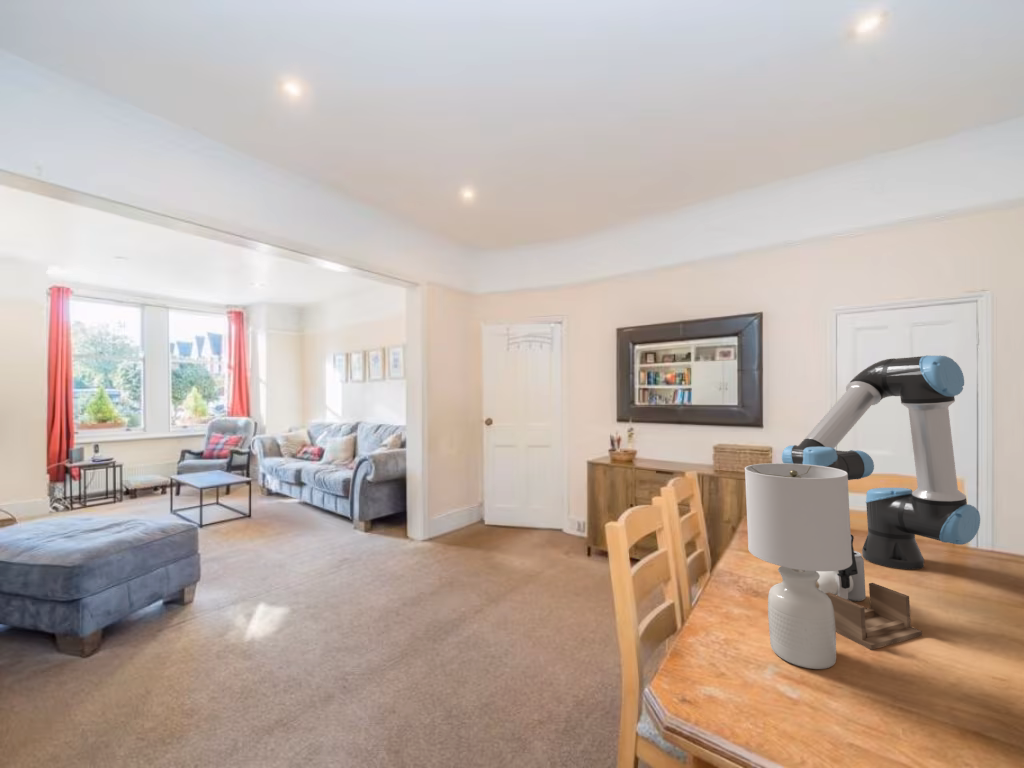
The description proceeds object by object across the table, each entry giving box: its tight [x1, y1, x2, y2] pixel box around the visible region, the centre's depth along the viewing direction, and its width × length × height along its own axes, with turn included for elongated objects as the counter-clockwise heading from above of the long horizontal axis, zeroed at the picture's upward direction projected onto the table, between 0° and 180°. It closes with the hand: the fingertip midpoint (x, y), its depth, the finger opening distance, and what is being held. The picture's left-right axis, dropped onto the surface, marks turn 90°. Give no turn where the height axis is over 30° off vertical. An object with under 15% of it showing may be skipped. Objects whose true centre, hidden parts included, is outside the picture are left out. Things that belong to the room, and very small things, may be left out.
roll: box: [816, 571, 853, 595], centre depth 119 cm, size 9×7×7 cm
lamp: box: [744, 462, 852, 670], centre depth 97 cm, size 19×19×39 cm
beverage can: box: [847, 550, 867, 602], centre depth 121 cm, size 6×6×12 cm
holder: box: [826, 582, 923, 650], centre depth 105 cm, size 16×12×8 cm
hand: (828, 593), depth 119 cm, fingers closed on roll, 7 cm apart
